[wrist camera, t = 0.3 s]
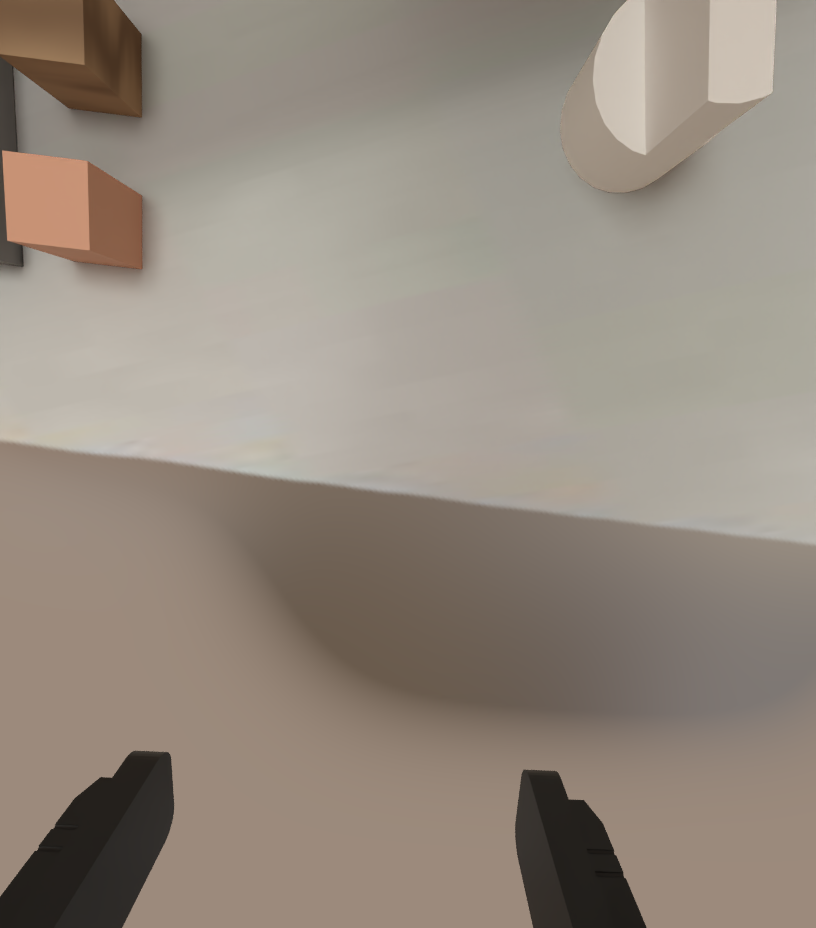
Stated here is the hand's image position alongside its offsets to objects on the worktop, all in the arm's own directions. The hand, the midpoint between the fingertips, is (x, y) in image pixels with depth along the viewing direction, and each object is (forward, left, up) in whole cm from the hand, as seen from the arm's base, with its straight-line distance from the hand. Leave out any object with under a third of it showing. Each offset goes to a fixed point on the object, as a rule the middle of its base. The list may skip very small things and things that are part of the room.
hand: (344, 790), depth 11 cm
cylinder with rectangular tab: (-28, +14, -29) cm, 42 cm away
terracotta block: (-17, -22, -28) cm, 40 cm away
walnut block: (-27, -22, -28) cm, 45 cm away
